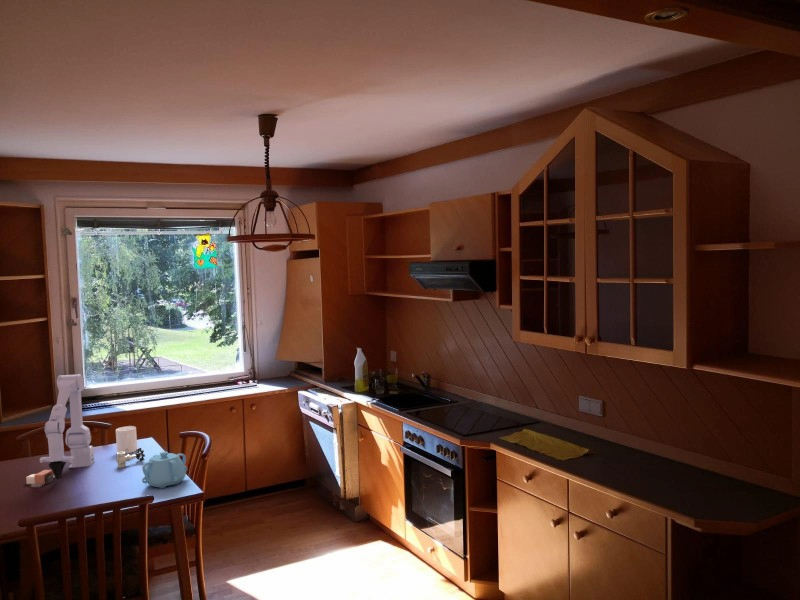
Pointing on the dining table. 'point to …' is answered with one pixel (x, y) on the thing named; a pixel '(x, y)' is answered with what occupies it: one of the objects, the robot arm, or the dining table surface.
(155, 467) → the decorative pot
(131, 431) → the white cylinder
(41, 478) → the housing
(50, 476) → the plug
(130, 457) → the valve
